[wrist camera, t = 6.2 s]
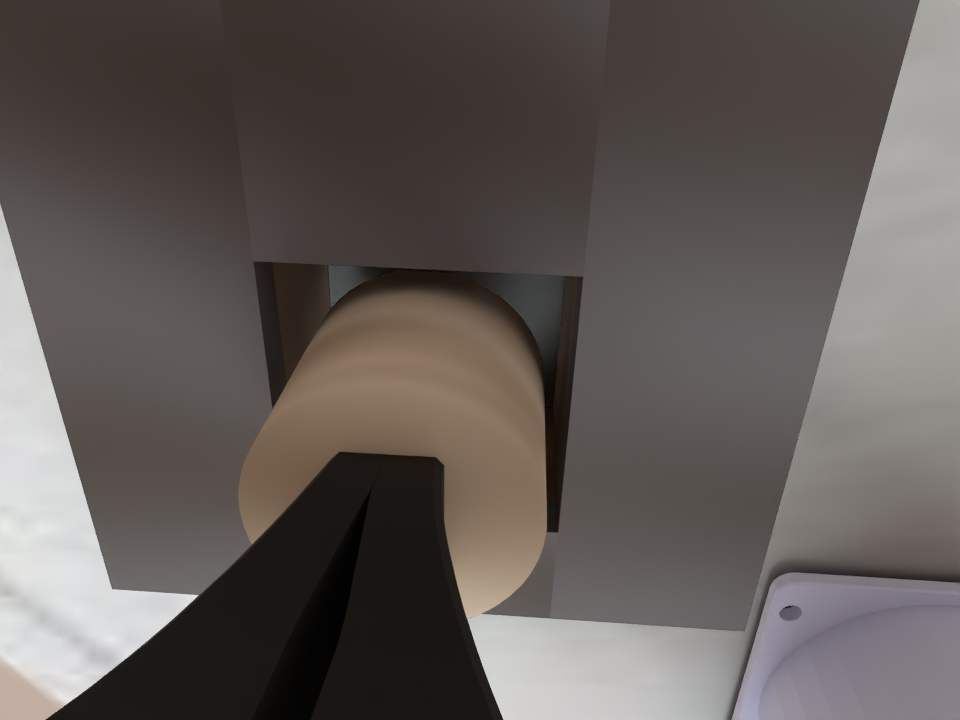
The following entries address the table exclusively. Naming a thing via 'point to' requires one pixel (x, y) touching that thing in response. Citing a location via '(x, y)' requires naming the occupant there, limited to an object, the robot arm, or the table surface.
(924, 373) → the table surface
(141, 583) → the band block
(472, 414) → the inner peg
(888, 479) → the table surface
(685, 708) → the table surface
